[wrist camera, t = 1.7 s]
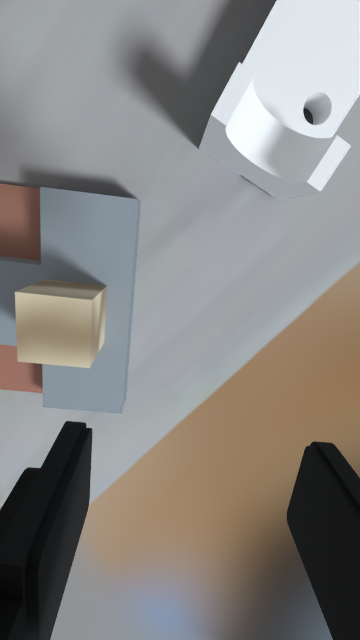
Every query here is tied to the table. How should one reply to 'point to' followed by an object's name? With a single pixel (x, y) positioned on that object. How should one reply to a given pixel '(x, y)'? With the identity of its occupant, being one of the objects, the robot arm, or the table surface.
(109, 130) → the table surface
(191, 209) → the table surface
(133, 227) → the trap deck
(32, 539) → the robot arm
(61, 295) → the maple block
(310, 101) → the bracket
